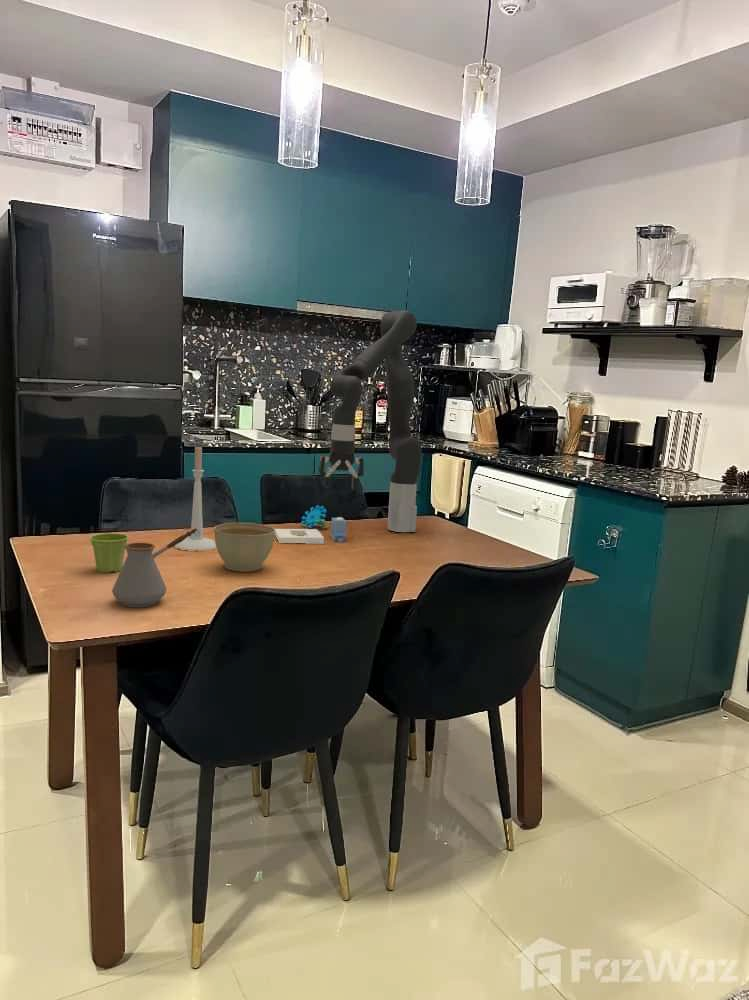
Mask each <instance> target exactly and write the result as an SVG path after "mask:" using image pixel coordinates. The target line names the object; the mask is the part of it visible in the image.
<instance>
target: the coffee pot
mask: <svg viewBox="0 0 749 1000" xmlns="http://www.w3.org/2000/svg"><path fill="white" fill-rule="evenodd" d="M196 531H198V530H197V529H196V528H195V529H193V530H191V529H190V531H187V532H186V533H184V534H182V535H179V536H178V537H177V538H175V539H173V541H171V542H170V543H168V544H167V545H165V546H164V547H162V548H161V549H159V550H157V551H155V552H154V553H153V550H154V549H155V548H156V546H155V544H153V543H149V542H132V543H126V545H125V547H124V548H125V551H126V553H127V556H126V557H125V560H124V561H123V566H122V569H121V570H120V571H119V574H118V575H117V577H116V578H117V579H116V580H115V582H114V585H113V587H112V589H111V592H112V595H113V597H114V598H115V600H117V601H118V602H120V603H121V605H123V606H125V607H131V608H144V607H145V608H146V607H151V606H154V605H156V604H157V603H158V601H160V600H162V598H163V597H164V596H165V595H166V592H167V587H166V584H165V581H164V579H163V577H162V574H161V572H160V570H159V568H158V566H157V563H156V561H155V558H156V557H158V556H159V555H161V554H163V553H164V552H165V551H167V550H169V549H171V548H173V547H174V546H175V545H177V544H178V543H180V542H182V541H183V540H184V539H186V538H188V537H190V536H191V534H192V533H195V532H196ZM198 532H199V531H198ZM199 534H200V532H199ZM195 535H196V536H198V535H197V534H196V533H195ZM199 536H200V535H199Z"/></svg>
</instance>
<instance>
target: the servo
mask: <svg viewBox="0 0 749 1000" xmlns="http://www.w3.org/2000/svg"><path fill="white" fill-rule="evenodd" d="M329 530H330V538H331V537H332V538H331V539H332V540H333V542H338V543H343V542H346V537H347V521H346V519H344V518H343V517H340V516H339V517H331V527H330V529H329Z"/></svg>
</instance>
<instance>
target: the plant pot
mask: <svg viewBox="0 0 749 1000" xmlns="http://www.w3.org/2000/svg"><path fill="white" fill-rule="evenodd" d="M128 539H129V535H128V534H124V533H118V532H117V533H113V532H112V533H111V532H110V533H107V532H106V533H98V534H93V535H91V536H89V540H90V541H91V546H92V550H93V553H94V554H93V555H94V561H95V567H96V571H97V572H99V573H111V572H115V573H117V572H120V571H121V569H122V567H123V565H124V557H125V551H126V549H125V548H124V547H125V545H127V544H128V543H127V541H128Z"/></svg>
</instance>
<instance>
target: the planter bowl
mask: <svg viewBox="0 0 749 1000" xmlns="http://www.w3.org/2000/svg"><path fill="white" fill-rule="evenodd" d="M275 529H276V528H274V527H272V526H270V525H265V524H261V523H260V524H259V523H251V522H231V523H229V522H228V523H222V524H217V525H215V526H214V527H213V533H214V541H215V544H216V548H217V549H216V550H217V553H218V555H219V556H220V558H221V560H222V561H223V563H224V566H225V569H226V570H229V571H233V572H238V573H239V572H240V573H244V572H245V573H247V572H256V571H259V570H261V569H262V565H263V563H264V562H265V561H266V559H267V558H268V557H269V555H270V553H271V550H272V549H273V546H274V540H275Z"/></svg>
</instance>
